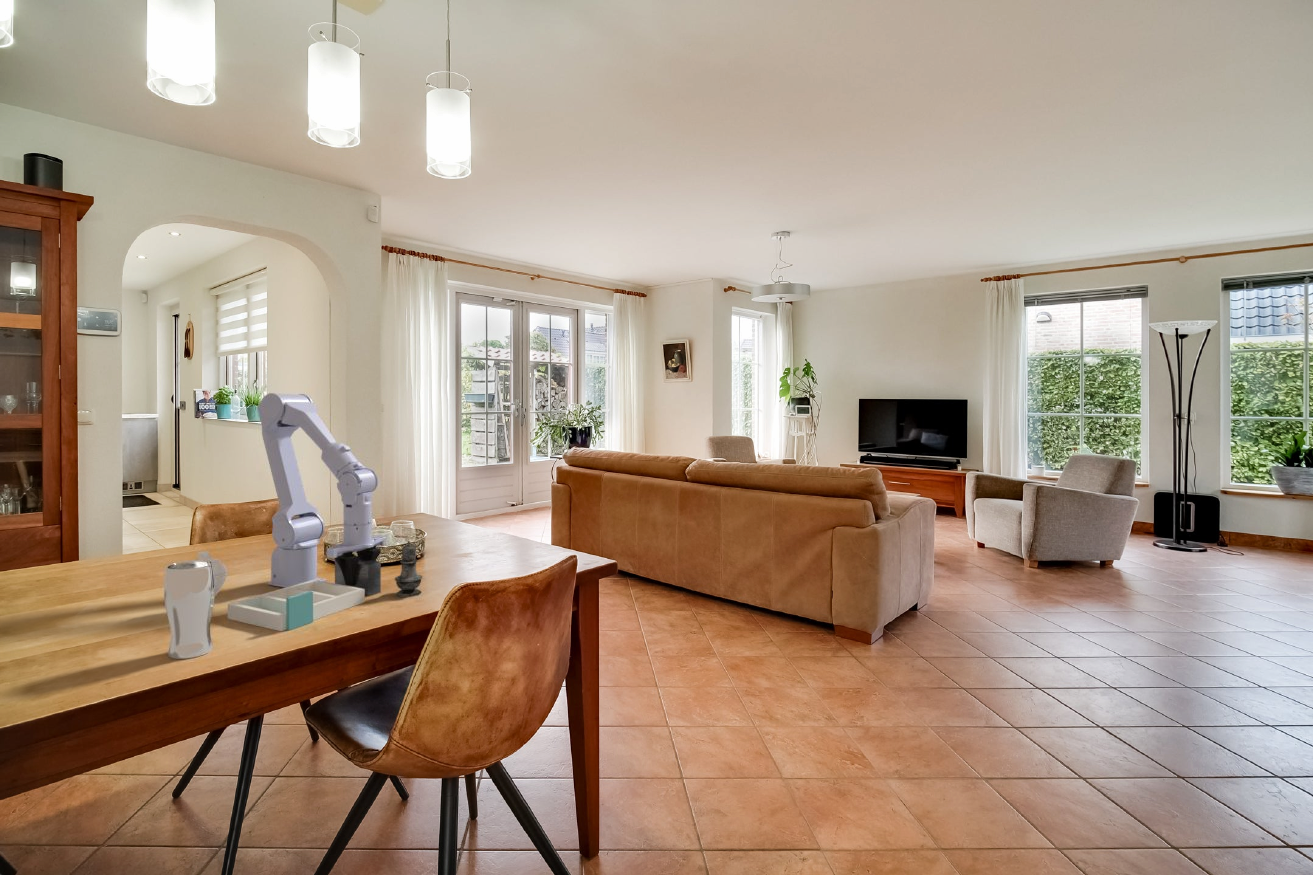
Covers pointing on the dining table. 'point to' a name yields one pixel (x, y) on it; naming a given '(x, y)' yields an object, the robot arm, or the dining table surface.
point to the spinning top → (215, 569)
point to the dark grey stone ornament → (408, 573)
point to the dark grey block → (363, 576)
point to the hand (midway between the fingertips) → (357, 582)
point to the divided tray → (295, 605)
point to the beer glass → (189, 607)
